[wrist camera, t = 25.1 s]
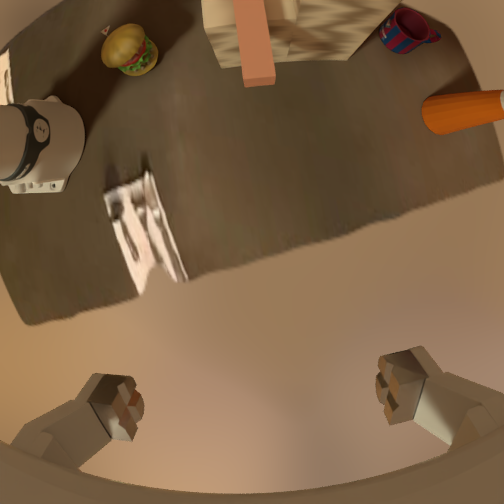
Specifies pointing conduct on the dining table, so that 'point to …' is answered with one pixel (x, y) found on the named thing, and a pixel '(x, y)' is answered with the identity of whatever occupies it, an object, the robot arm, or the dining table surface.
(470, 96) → the spray bottle
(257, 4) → the bar
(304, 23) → the stepped stand
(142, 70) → the hamburger
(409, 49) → the mug
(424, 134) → the dining table surface
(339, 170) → the dining table surface
